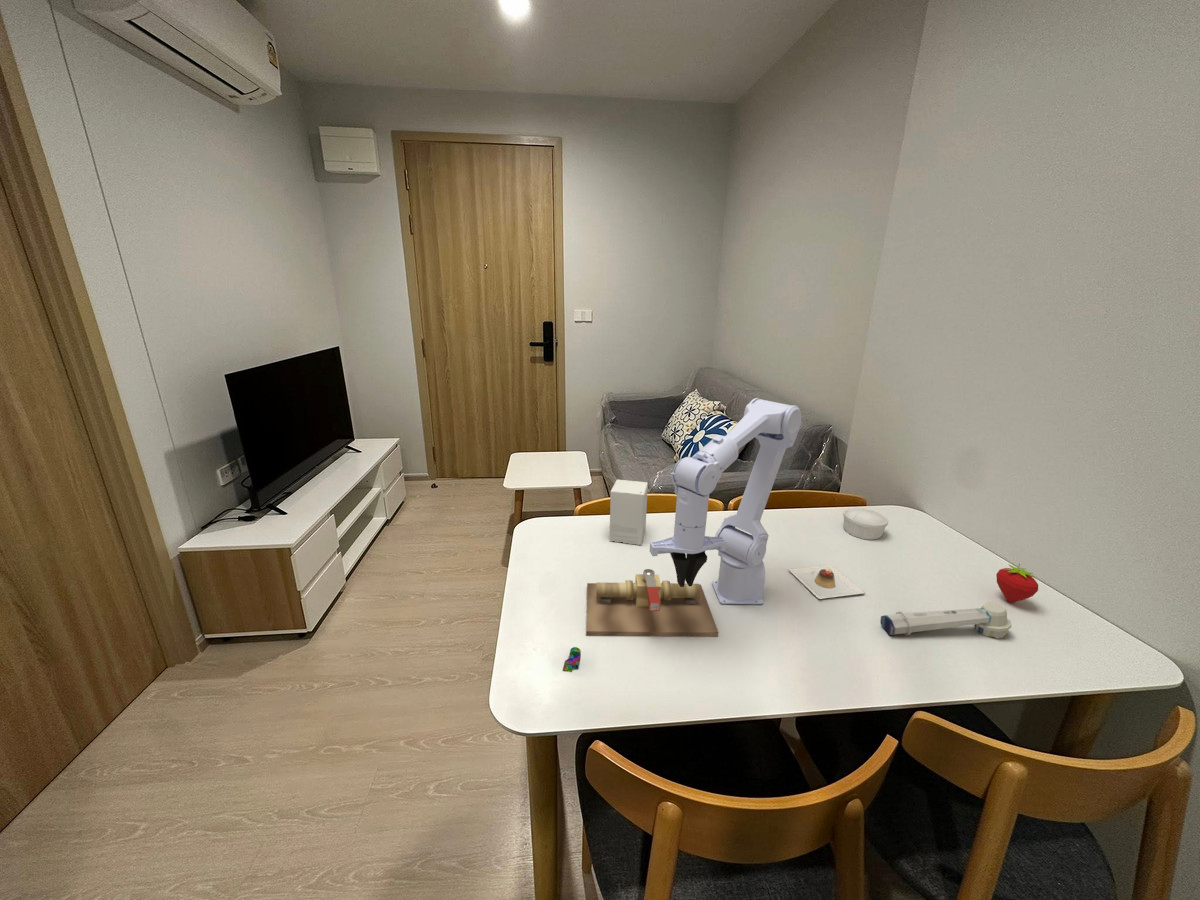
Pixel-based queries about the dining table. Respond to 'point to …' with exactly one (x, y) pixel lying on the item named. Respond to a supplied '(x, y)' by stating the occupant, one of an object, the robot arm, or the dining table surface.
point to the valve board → (629, 614)
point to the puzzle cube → (572, 660)
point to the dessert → (826, 579)
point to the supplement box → (628, 511)
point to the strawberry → (1016, 584)
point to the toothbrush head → (950, 620)
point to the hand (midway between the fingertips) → (684, 583)
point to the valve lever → (651, 590)
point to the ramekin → (864, 523)
